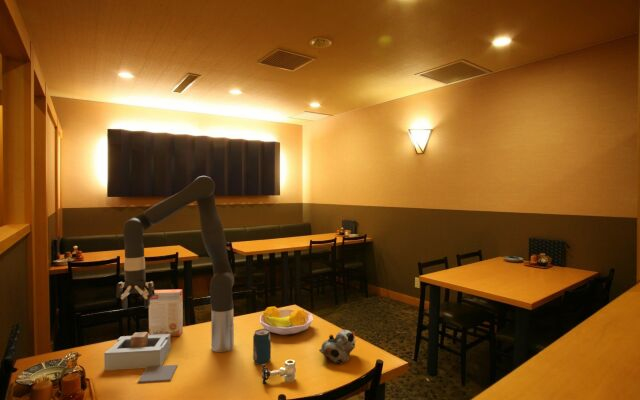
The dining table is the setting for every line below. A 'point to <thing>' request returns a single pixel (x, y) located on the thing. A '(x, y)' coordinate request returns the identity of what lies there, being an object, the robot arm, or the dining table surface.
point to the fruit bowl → (285, 320)
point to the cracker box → (166, 312)
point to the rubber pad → (158, 373)
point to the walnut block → (139, 340)
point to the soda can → (261, 346)
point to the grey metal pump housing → (339, 346)
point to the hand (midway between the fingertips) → (135, 307)
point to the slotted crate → (137, 353)
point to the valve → (281, 371)
